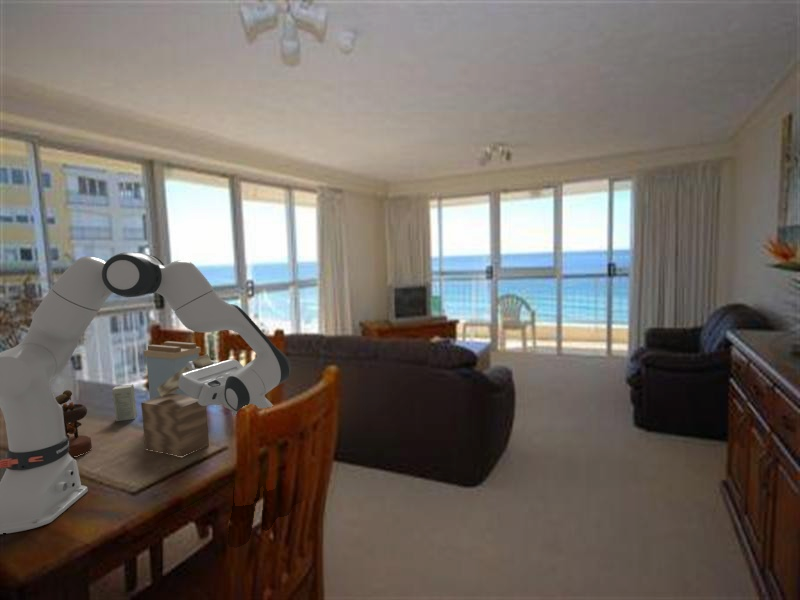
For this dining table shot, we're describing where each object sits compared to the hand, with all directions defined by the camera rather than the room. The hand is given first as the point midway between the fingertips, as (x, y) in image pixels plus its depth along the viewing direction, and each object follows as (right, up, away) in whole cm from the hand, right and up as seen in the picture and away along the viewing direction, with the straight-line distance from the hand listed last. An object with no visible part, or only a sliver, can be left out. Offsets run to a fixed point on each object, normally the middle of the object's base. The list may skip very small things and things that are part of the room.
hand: (195, 361), depth 136 cm
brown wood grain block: (-9, -28, +7) cm, 30 cm away
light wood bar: (-4, -6, +3) cm, 8 cm away
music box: (-41, -29, +6) cm, 51 cm away
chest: (-19, -26, +29) cm, 43 cm away
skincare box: (-41, -26, +35) cm, 60 cm away
